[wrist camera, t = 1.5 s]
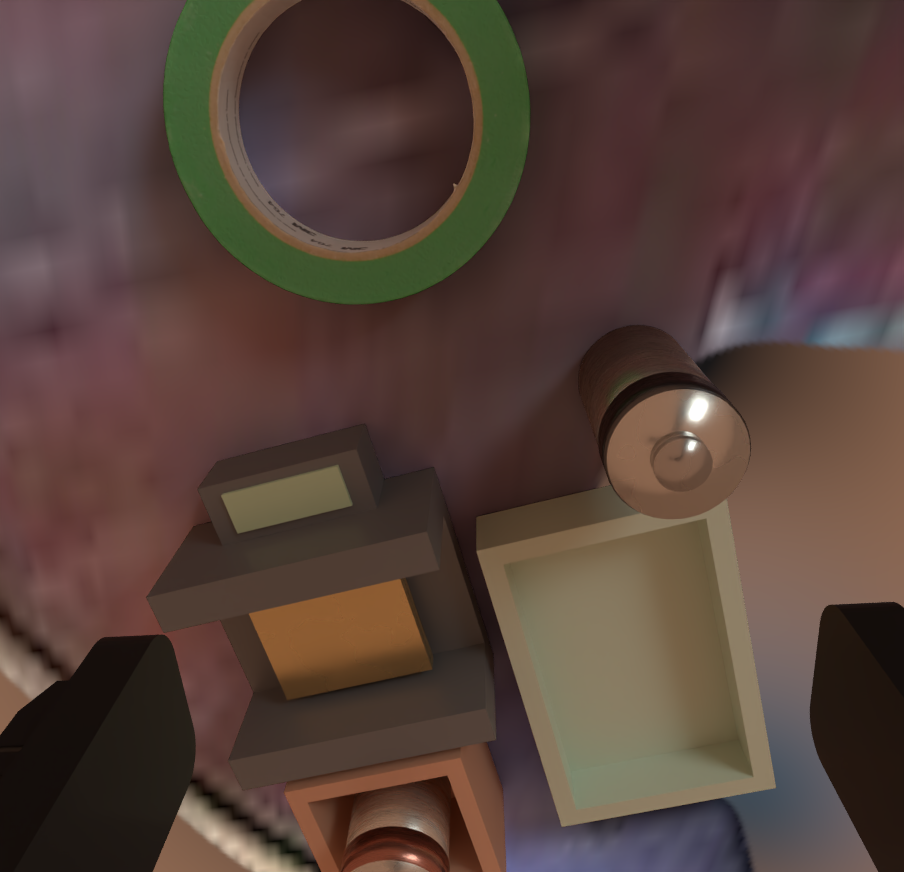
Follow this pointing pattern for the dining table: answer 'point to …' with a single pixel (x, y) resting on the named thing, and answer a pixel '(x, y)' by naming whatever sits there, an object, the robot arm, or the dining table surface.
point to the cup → (468, 768)
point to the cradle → (325, 573)
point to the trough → (628, 652)
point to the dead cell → (400, 829)
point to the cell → (661, 424)
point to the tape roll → (277, 233)
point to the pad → (344, 639)
